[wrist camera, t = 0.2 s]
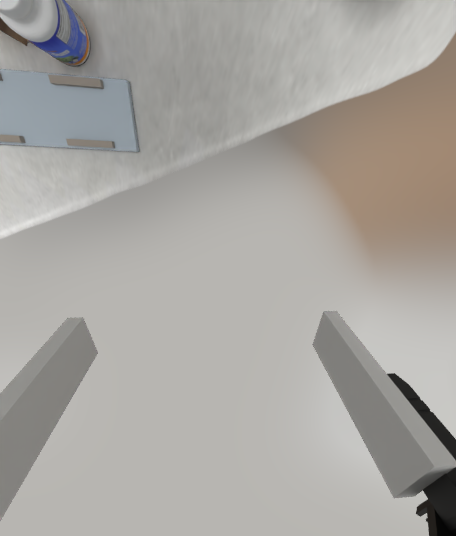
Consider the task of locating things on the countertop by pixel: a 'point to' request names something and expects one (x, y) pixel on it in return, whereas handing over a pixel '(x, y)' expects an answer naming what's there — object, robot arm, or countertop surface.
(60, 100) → the ledge
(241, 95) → the countertop surface
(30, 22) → the pill bottle
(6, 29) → the frame
